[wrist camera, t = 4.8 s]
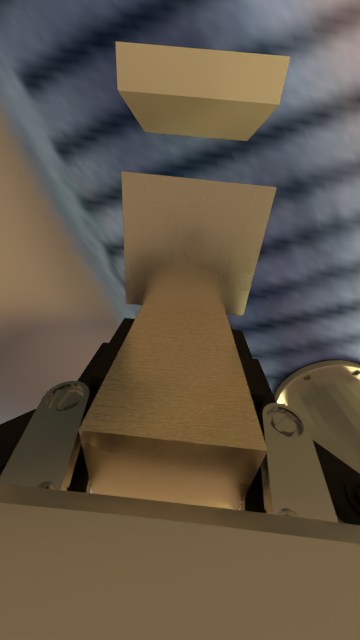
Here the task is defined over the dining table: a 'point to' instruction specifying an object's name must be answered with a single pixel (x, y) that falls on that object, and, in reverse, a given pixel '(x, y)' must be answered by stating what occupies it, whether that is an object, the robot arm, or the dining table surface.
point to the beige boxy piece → (181, 347)
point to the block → (199, 89)
